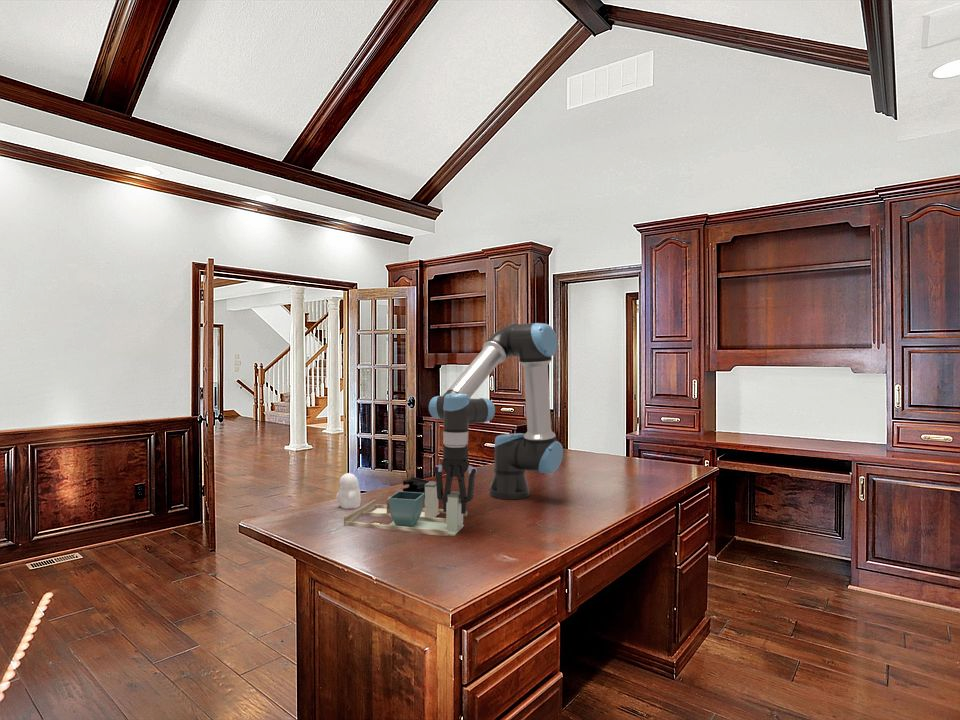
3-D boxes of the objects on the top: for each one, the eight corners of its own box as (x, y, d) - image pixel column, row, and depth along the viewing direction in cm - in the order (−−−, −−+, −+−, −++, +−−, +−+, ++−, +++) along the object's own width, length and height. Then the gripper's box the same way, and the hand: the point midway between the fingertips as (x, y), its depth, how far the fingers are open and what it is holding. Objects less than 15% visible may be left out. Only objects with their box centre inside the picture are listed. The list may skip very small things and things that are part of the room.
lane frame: (467, 515, 183) (467, 506, 183) (447, 536, 162) (447, 526, 162) (374, 508, 191) (374, 499, 191) (343, 526, 170) (343, 516, 170)
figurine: (334, 509, 189) (334, 473, 189) (349, 504, 196) (349, 469, 196) (350, 512, 186) (350, 476, 186) (365, 506, 193) (365, 472, 193)
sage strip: (464, 526, 172) (464, 490, 172) (455, 535, 162) (455, 497, 162) (396, 520, 177) (397, 485, 177) (384, 529, 168) (384, 492, 168)
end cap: (434, 498, 206) (434, 479, 206) (419, 501, 201) (419, 482, 201) (416, 493, 213) (417, 475, 213) (401, 496, 208) (402, 478, 208)
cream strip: (440, 514, 184) (440, 481, 184) (432, 521, 176) (432, 486, 176) (377, 509, 189) (378, 476, 189) (367, 515, 182) (368, 481, 182)
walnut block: (403, 511, 186) (404, 496, 186) (402, 515, 181) (402, 499, 181) (388, 510, 186) (389, 495, 186) (386, 515, 181) (386, 499, 181)
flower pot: (415, 529, 166) (416, 499, 166) (387, 527, 168) (388, 497, 168) (424, 521, 175) (425, 492, 175) (397, 519, 176) (398, 491, 176)
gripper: (484, 444, 169) (483, 522, 169) (434, 442, 173) (433, 518, 173) (478, 448, 162) (477, 529, 162) (426, 445, 166) (425, 525, 166)
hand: (454, 523), depth 168 cm, fingers closed on sage strip, 3 cm apart
